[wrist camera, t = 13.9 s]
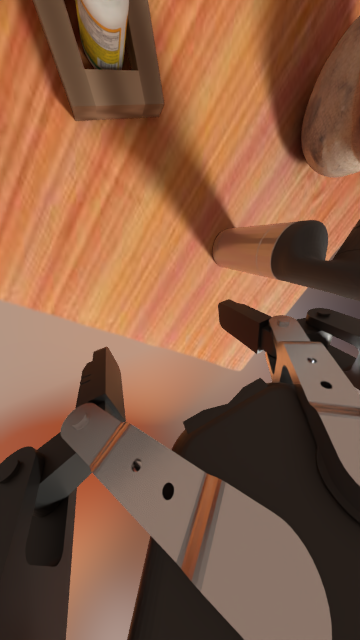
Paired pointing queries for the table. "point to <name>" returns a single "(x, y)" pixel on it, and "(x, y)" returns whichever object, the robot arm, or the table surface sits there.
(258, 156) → the table surface
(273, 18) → the table surface
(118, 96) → the socket holder
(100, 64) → the supplement bottle
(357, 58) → the ceramic bowl
